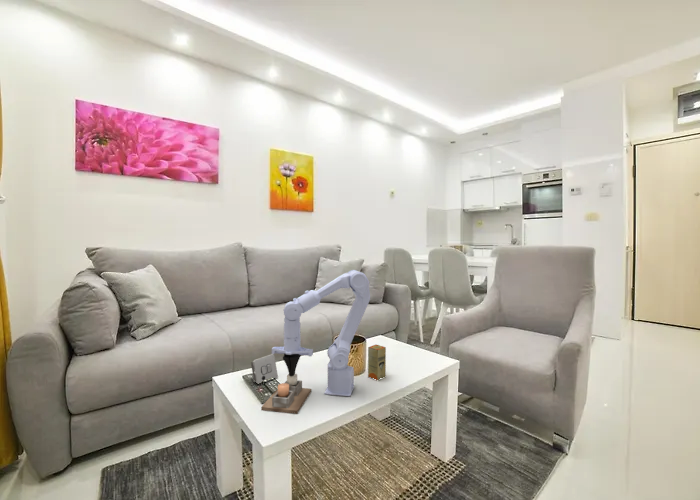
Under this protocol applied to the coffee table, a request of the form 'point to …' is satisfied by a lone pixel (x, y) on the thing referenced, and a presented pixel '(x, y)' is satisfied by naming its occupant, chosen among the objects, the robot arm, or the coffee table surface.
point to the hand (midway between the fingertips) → (292, 374)
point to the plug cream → (292, 380)
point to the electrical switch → (264, 368)
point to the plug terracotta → (283, 390)
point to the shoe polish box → (376, 362)
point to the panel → (288, 400)
